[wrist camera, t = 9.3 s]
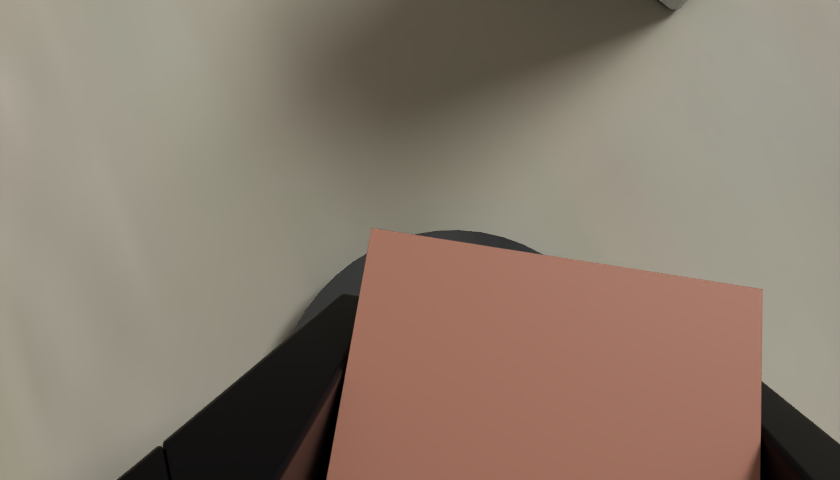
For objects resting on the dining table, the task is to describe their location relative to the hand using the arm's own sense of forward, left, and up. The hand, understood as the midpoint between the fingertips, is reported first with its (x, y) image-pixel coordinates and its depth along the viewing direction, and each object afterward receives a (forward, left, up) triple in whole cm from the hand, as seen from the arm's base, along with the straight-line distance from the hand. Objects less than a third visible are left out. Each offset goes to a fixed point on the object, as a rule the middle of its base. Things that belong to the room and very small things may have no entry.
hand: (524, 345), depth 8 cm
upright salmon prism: (-1, 0, -7) cm, 7 cm away
